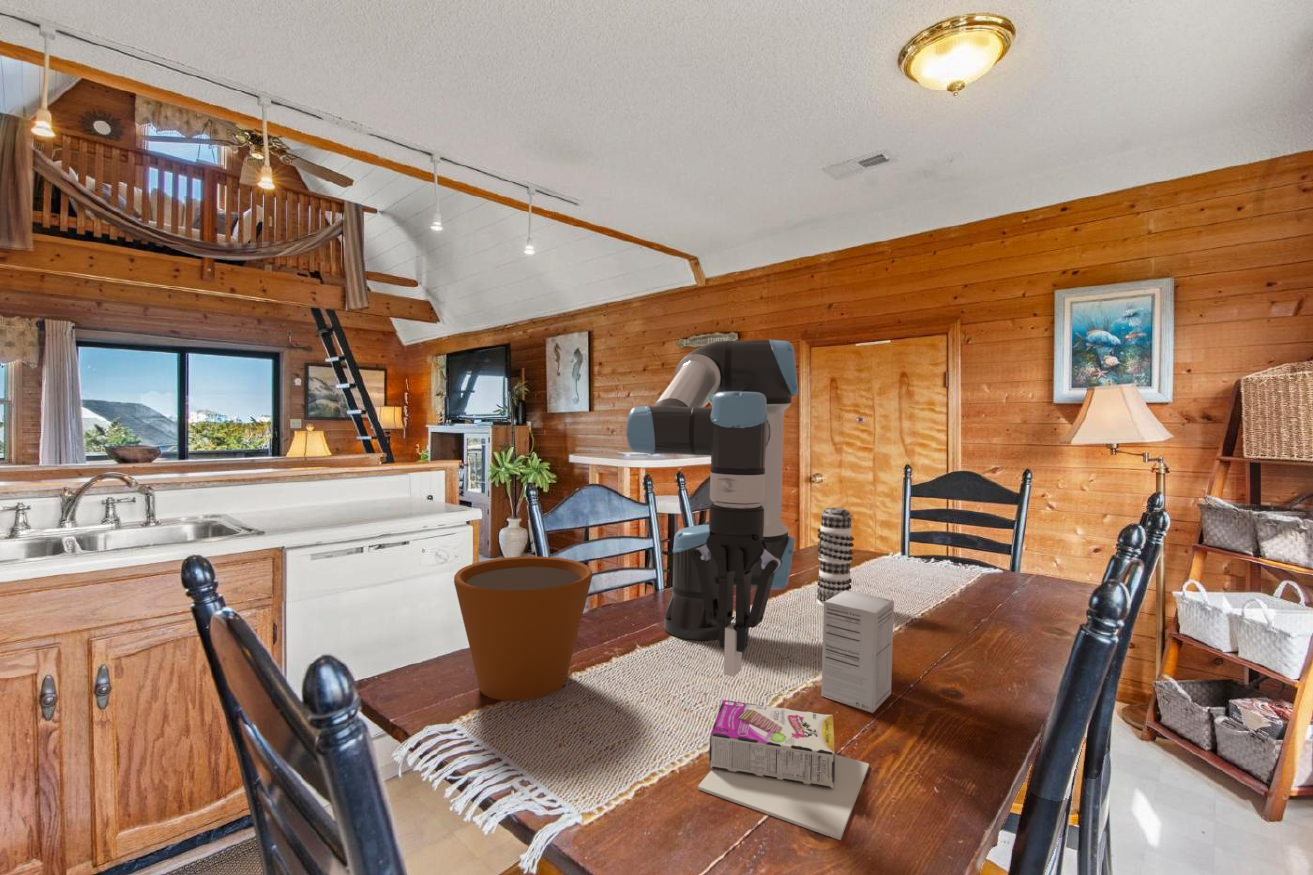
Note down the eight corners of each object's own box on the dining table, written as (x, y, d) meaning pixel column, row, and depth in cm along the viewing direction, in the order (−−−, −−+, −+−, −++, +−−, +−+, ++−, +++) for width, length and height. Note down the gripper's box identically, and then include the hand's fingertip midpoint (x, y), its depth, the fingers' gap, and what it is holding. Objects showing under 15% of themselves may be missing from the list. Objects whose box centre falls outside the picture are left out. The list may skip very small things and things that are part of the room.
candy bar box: (721, 696, 91) (833, 713, 87) (720, 729, 92) (832, 747, 87) (709, 732, 81) (836, 753, 76) (708, 769, 81) (835, 792, 77)
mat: (697, 789, 77) (697, 786, 77) (746, 730, 92) (746, 728, 92) (840, 840, 68) (840, 837, 68) (868, 766, 83) (868, 763, 83)
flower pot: (573, 650, 122) (575, 553, 122) (606, 702, 100) (608, 583, 100) (450, 665, 114) (451, 560, 113) (456, 726, 92) (457, 596, 91)
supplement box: (841, 679, 111) (844, 588, 111) (892, 694, 105) (895, 599, 105) (819, 696, 104) (822, 600, 103) (873, 714, 98) (876, 612, 97)
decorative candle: (808, 600, 160) (811, 506, 159) (838, 597, 163) (841, 505, 162) (828, 611, 151) (831, 512, 150) (859, 608, 154) (862, 511, 153)
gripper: (682, 502, 83) (678, 671, 84) (773, 511, 76) (768, 694, 77) (705, 497, 89) (701, 653, 90) (791, 504, 83) (786, 673, 84)
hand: (732, 672), depth 84 cm, fingers closed
